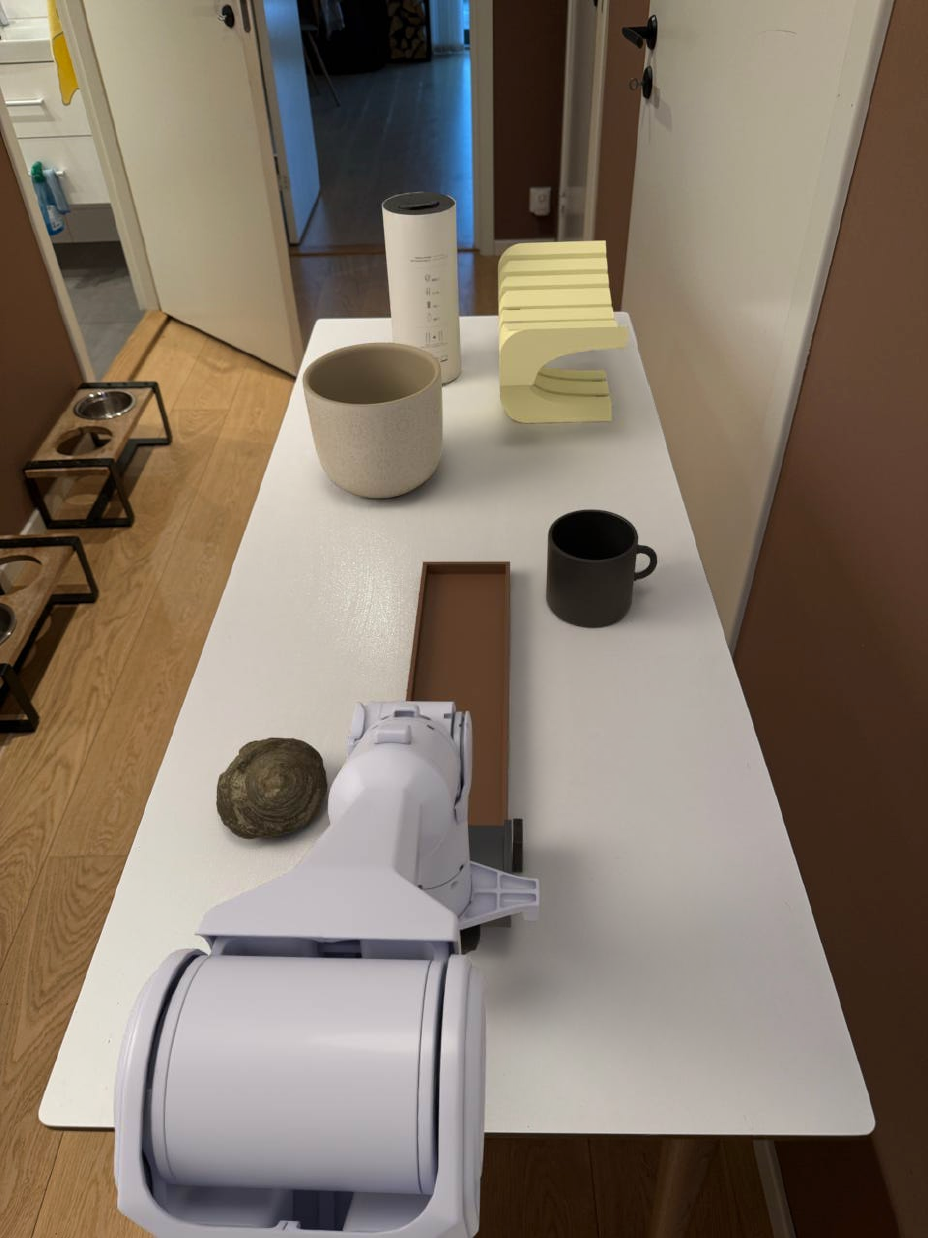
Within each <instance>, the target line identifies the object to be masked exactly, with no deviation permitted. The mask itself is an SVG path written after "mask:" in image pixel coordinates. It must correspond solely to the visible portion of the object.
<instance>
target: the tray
mask: <svg viewBox="0 0 928 1238" xmlns="http://www.w3.org/2000/svg"><path fill="white" fill-rule="evenodd" d="M420 575H421V576H420V582H419V591H418V597H417V598H418V600H417V607H416V615H415V623H414V631H413V640H412V647H411V655H410V663H409V670H408V678H407V688H406V694H405V695H406V696H405V701H410V702H455V708H456V712H463V714H464V715H465V713H466V711H469V713H470V717H471V723H472V779H471V788H470V792H469V796H468V814H467V820H468V825H490V826H504V820H509V819H508V817H509V738H510V737H509V736H510V735H509V734H510V733H509V727H510V725H509V723H510V722H509V720H510V716H509V715H510V638H511V637H510V633H511V632H510V631H511V626H510V625H511V620H510V619H511V561H510V560H507V561H506V560H505V561H504V560H503V561H502V560H501V561H500V560H499V561H497V560H496V561H495V560H494V561H483V560H481V561H479V560H478V561H477V560H476V561H475V560H474V561H471V560H469V561H422V567H421V574H420Z"/></svg>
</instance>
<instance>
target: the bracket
mask: <svg viewBox="0 0 928 1238" xmlns="http://www.w3.org/2000/svg"><path fill="white" fill-rule="evenodd" d="M523 858H524V819H523V818H517V817H516V818H515V817H514V818H513V819H512V872H513V873H515V872H516V873H522V872H523V871H524V859H523Z"/></svg>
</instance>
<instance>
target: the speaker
mask: <svg viewBox="0 0 928 1238" xmlns="http://www.w3.org/2000/svg"><path fill="white" fill-rule="evenodd" d="M381 210H382V221H383V235H384V246H385V257H386V258H385V259H386V270H387V281H388V293H389V294H388V295H389V306H390V316H391V317H390V320H391V329H392V343H398V344H405V345H409V346H413V347H417V348H419V349H422V350H424V351H426V352H428V353H430V354H431V355H432V356H434V357H435V358H436V359H437V361H438V362H439V364H440V367H441V375H442V386H445V385H447V384H450V383H453V382H454V381H455V380H456V379H458V377H459V376H460V375H461V374H462V371H463V370H462V369H463V368H462V367H463V366H462V349H461V348H462V347H461V326H460V301H459V299H460V297H459V296H460V295H459V273H458V272H459V270H458V268H459V267H458V266H459V265H458V242H457V241H458V237H457V236H458V234H457V233H458V231H457V201H456V200H455V199H454V198H453V197H452V196H450V195H447V194H443V193H439V192H432V191H431V192H430V191H417V192H407V193H402V194H396V195H394V196H391V197H389V198H387V199H385V200H384V201H382V203H381Z"/></svg>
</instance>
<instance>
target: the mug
mask: <svg viewBox="0 0 928 1238" xmlns="http://www.w3.org/2000/svg"><path fill="white" fill-rule="evenodd" d="M546 553H547V555H546V582H545V583H546V584H545V585H546V586H545V588H546V589H545V593H546V594H545V600H546V603H547V606H548V608H549V610H551V612H552V613H553V614H554V615H555V616H556V617H557V618H559V619H561V620H562V621H564V622H566V623H569V624H571V625H573V626H574V625H575V626H580V627H588V628H589V627H590V628H595V627H596V628H597V627H604V626H607V625H610V624H613V623H615V622H617V621H619V620H620V619H622V618H623V617H624V616H625V615H626V614H627V613H628V611H629V609H630V608H631V606H632V603H633V601H632V600H633V591H634V583H635V582H637V581H639V580H643V579H646V578H647V577H649V576H650V575H652V574H653V572H654V571H655V570H656V568H657V565H658V555H657V552H656V551H655V550H654V549H653V548H652V547H650V546H649V545H643V544H639V533H638V530H637V529H636V527H635V526H634V525H633V523H632V522H631V521H630V520H628V519H627V518H626V517H623V516H622V515H620V514H618V513H614V512H612V511H608V510H604V509H603V510H602V509H592V508H591V509H589V508H587V509H579V510H574V511H571V512H567V513H565V514H563V515H560V516H559V517H557V518H556V519H555V520H554V521H553V522H552V523H551V525H550V526H549V529H548V532H547V552H546ZM640 554H643V555H646V556H647V557H648V558H649V563H648V565H647V567H645V568H644V569H642V570H640V571H636V566H637V556H638V555H640Z"/></svg>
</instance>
